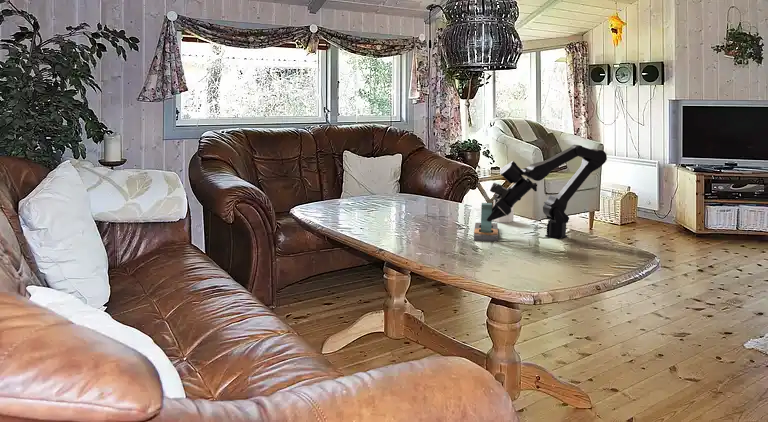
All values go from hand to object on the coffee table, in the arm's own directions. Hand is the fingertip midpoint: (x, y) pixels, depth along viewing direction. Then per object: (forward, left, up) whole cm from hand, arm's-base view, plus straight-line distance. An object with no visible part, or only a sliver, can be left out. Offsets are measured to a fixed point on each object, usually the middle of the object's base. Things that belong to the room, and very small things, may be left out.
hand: (487, 218), depth 250 cm
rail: (+3, -4, -7) cm, 9 cm away
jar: (+15, -32, -7) cm, 36 cm away
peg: (0, 0, -7) cm, 7 cm away
